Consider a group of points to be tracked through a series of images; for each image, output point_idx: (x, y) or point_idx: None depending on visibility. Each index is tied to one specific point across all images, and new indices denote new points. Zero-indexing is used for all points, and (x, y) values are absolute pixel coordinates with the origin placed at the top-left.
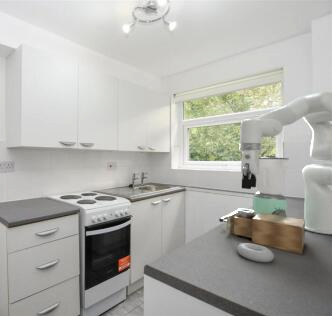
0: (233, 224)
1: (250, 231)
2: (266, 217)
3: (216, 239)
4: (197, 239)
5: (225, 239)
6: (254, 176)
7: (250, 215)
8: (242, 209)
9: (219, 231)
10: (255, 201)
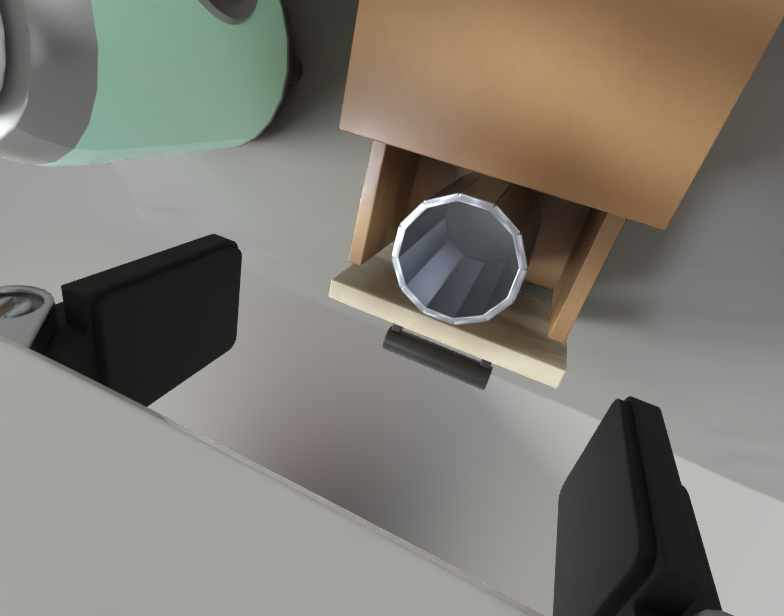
0: None
1: None
2: (546, 92)
3: (681, 383)
4: (734, 477)
5: (654, 336)
6: (41, 347)
7: (525, 227)
8: (406, 279)
9: None
10: (120, 149)
